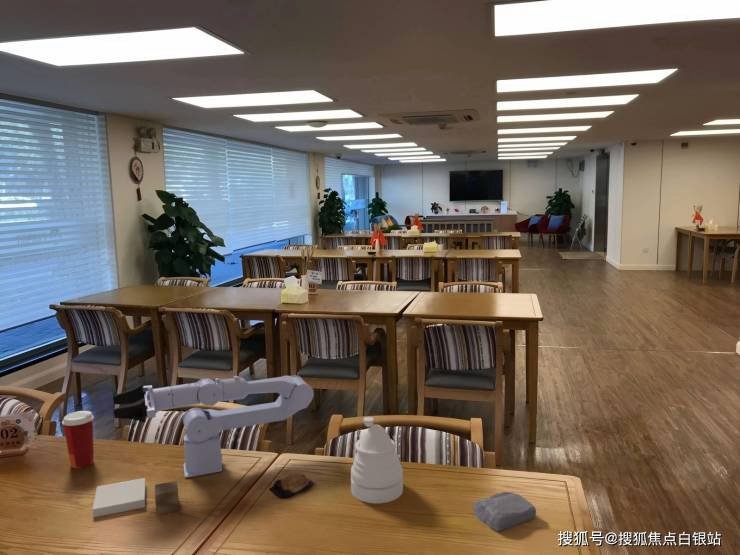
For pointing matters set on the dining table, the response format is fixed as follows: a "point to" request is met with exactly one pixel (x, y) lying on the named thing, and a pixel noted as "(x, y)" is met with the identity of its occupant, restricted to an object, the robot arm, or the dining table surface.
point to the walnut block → (166, 497)
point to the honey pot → (376, 467)
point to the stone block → (504, 510)
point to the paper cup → (79, 438)
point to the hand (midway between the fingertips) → (113, 406)
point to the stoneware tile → (119, 497)
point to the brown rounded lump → (292, 486)
